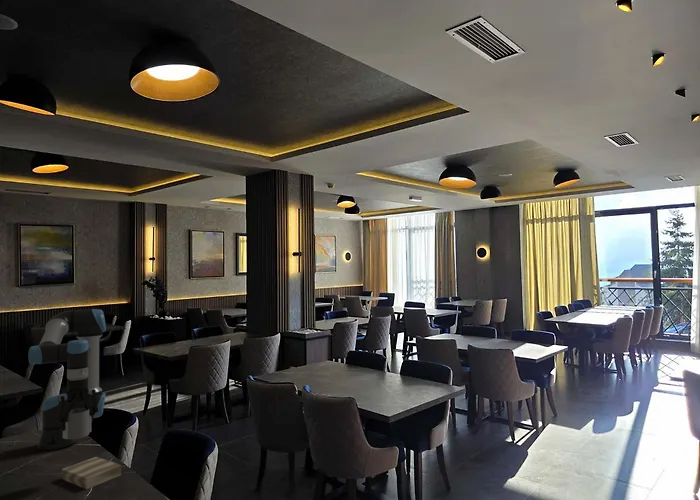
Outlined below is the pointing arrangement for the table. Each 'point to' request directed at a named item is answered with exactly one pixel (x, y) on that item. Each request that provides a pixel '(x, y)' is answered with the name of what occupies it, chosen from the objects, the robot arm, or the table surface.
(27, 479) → the table surface
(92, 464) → the oak stand
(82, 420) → the cup
